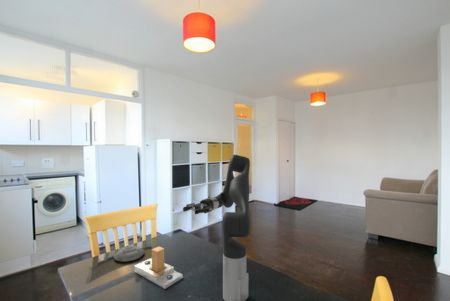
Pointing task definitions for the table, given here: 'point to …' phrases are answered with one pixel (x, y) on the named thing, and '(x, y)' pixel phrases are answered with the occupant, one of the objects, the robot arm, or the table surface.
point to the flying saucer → (129, 253)
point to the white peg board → (158, 274)
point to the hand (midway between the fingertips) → (189, 210)
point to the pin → (157, 259)
